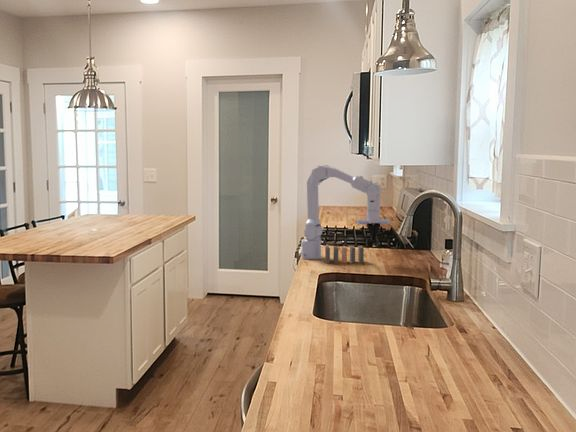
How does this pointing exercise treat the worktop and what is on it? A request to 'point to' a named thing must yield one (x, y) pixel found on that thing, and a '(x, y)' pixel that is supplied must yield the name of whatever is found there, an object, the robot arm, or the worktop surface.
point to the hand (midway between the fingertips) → (373, 240)
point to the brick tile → (344, 254)
